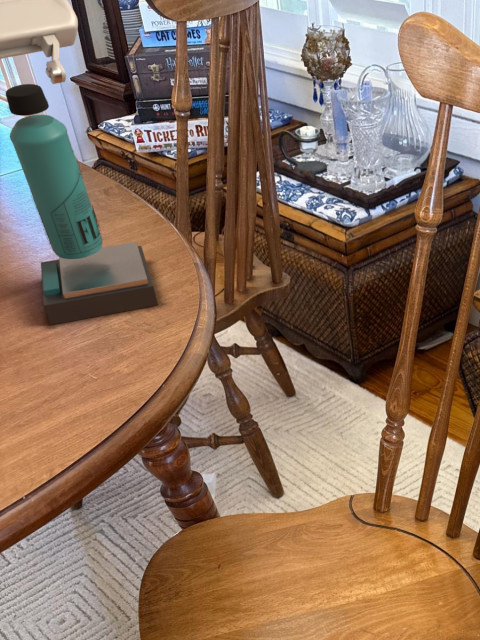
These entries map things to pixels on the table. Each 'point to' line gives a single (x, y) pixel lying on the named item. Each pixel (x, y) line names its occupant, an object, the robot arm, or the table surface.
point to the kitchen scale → (97, 284)
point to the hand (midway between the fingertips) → (21, 87)
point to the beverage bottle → (53, 175)
